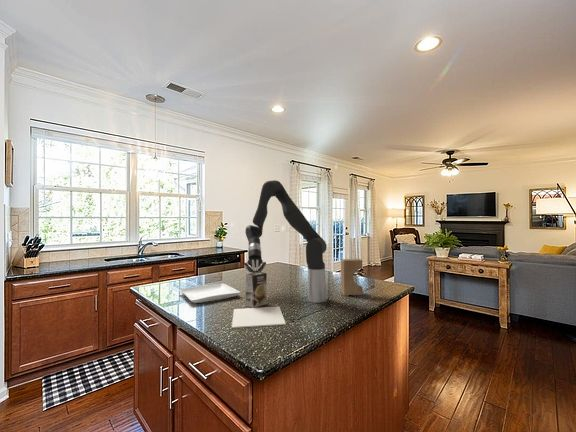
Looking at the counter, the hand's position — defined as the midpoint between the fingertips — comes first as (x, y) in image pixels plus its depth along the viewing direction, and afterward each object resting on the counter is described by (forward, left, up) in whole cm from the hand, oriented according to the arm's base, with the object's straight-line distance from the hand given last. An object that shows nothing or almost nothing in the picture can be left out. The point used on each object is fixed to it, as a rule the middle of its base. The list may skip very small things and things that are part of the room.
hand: (255, 277), depth 149 cm
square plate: (+26, -12, -13) cm, 31 cm away
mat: (0, +26, -12) cm, 28 cm away
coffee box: (0, +9, -12) cm, 15 cm away
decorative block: (-55, -1, -12) cm, 56 cm away
